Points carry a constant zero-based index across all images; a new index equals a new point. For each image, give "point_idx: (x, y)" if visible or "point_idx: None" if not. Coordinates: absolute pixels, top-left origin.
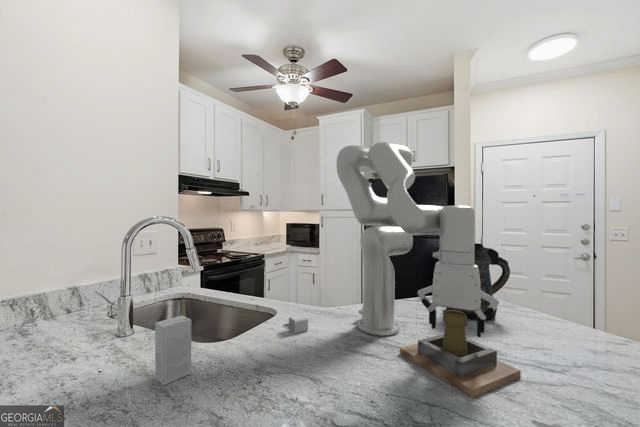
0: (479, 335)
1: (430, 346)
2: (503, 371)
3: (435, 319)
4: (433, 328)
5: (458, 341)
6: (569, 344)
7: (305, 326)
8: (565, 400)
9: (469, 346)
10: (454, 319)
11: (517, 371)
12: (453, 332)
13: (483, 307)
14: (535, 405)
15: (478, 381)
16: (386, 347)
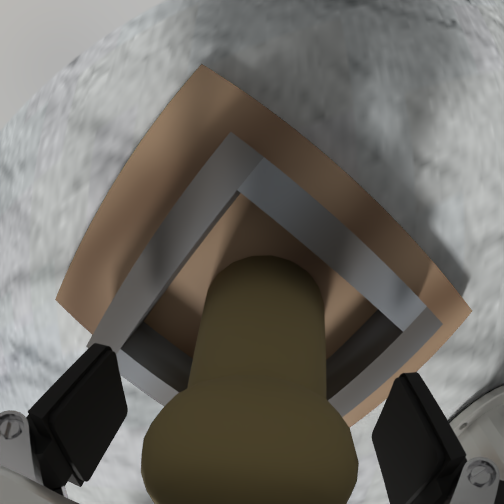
0: (97, 348)
1: (394, 278)
2: (91, 268)
3: (402, 440)
4: (406, 374)
5: (237, 315)
6: None
7: None
8: (4, 207)
9: None
10: (255, 425)
11: (60, 287)
12: (269, 351)
13: None
14: (52, 137)
15: (174, 137)
16: (489, 327)
